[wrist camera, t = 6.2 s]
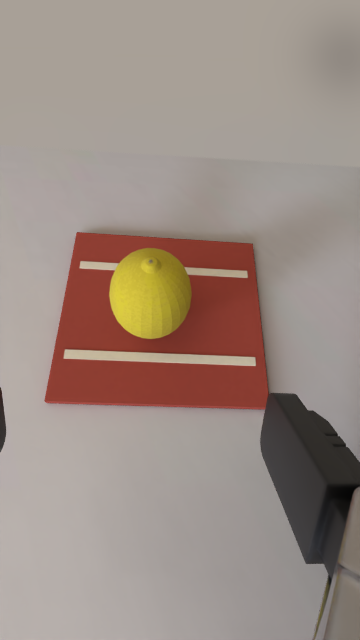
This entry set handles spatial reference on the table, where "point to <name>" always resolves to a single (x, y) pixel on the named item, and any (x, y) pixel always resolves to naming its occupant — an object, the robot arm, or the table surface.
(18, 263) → the table surface
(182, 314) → the lemon
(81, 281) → the pot holder
